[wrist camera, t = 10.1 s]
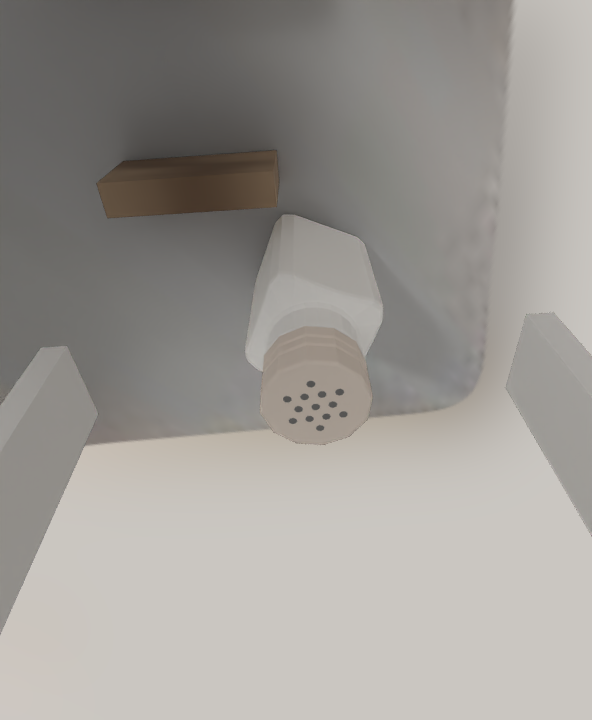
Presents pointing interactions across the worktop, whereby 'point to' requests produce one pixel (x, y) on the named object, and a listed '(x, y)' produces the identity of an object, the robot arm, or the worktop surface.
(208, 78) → the worktop surface
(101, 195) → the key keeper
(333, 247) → the pepper shaker
